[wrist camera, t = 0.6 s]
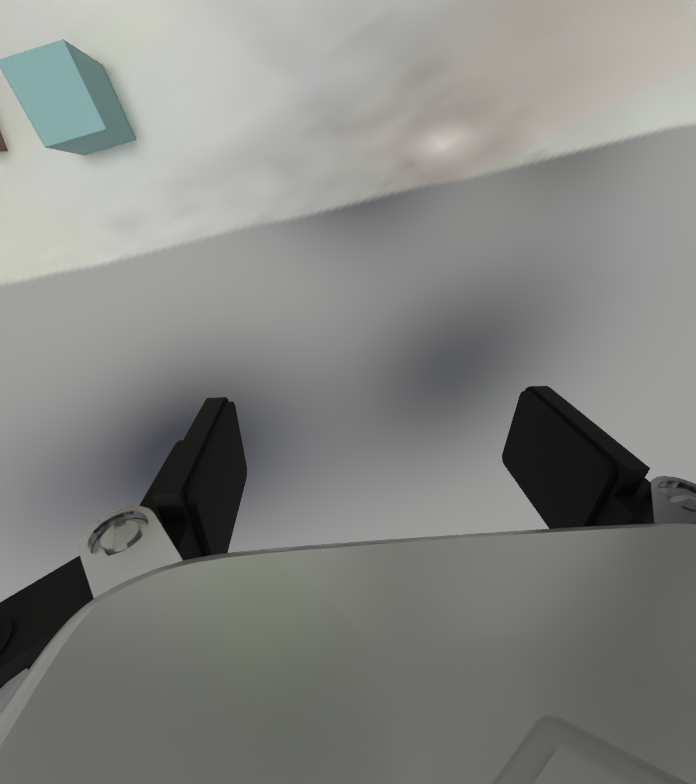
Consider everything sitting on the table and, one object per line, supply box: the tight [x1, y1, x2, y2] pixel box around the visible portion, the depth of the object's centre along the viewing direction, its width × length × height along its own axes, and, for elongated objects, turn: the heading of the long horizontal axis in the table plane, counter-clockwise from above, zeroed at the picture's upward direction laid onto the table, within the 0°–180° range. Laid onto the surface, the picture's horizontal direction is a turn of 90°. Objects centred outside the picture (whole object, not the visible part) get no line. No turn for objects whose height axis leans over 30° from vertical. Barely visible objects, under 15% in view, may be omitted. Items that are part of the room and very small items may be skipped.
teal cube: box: [0, 40, 136, 155], centre depth 27 cm, size 5×5×5 cm
